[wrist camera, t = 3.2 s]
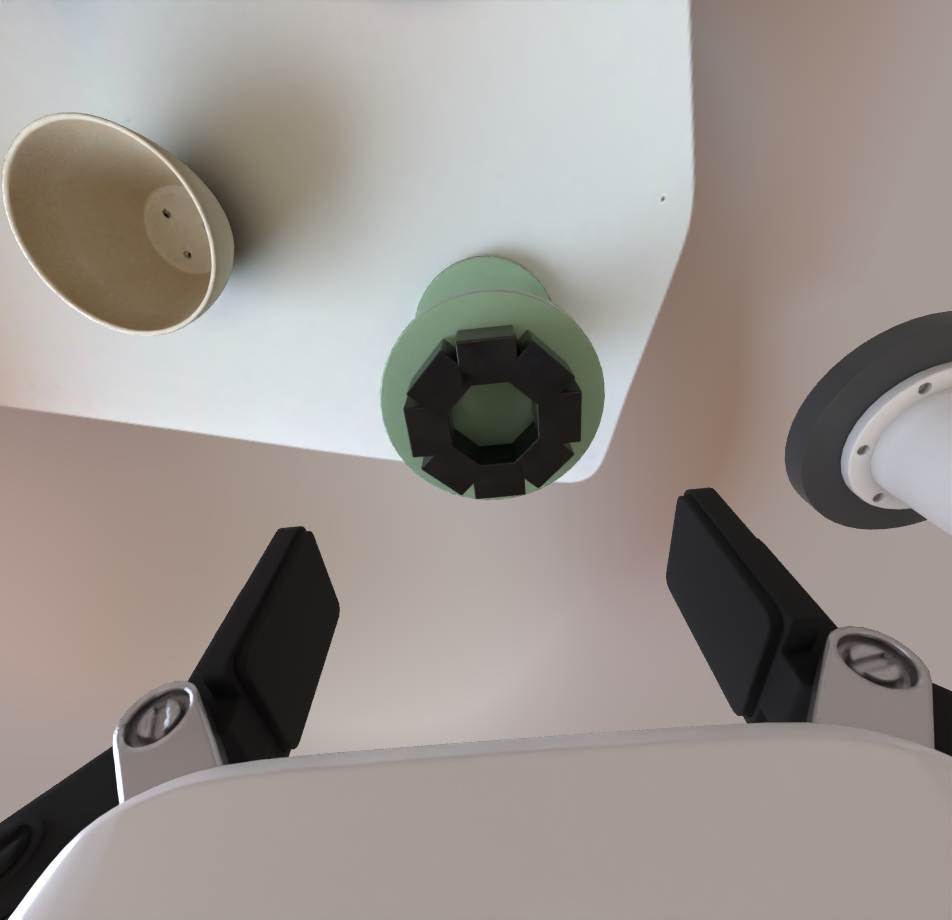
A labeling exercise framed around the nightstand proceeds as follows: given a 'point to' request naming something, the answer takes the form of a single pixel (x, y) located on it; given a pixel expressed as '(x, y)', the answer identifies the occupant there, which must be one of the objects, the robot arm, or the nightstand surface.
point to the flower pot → (116, 224)
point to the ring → (491, 362)
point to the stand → (501, 404)
